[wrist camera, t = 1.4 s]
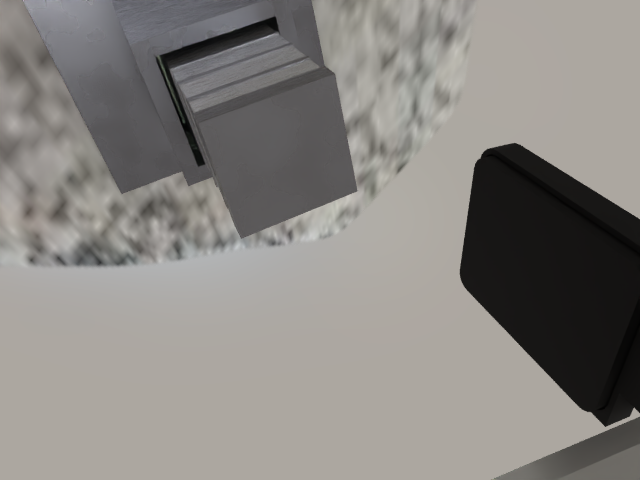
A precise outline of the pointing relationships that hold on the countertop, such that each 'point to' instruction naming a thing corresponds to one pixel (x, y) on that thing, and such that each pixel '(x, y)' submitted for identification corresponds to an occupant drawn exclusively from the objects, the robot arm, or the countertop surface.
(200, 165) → the stand
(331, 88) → the post
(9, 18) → the countertop surface
